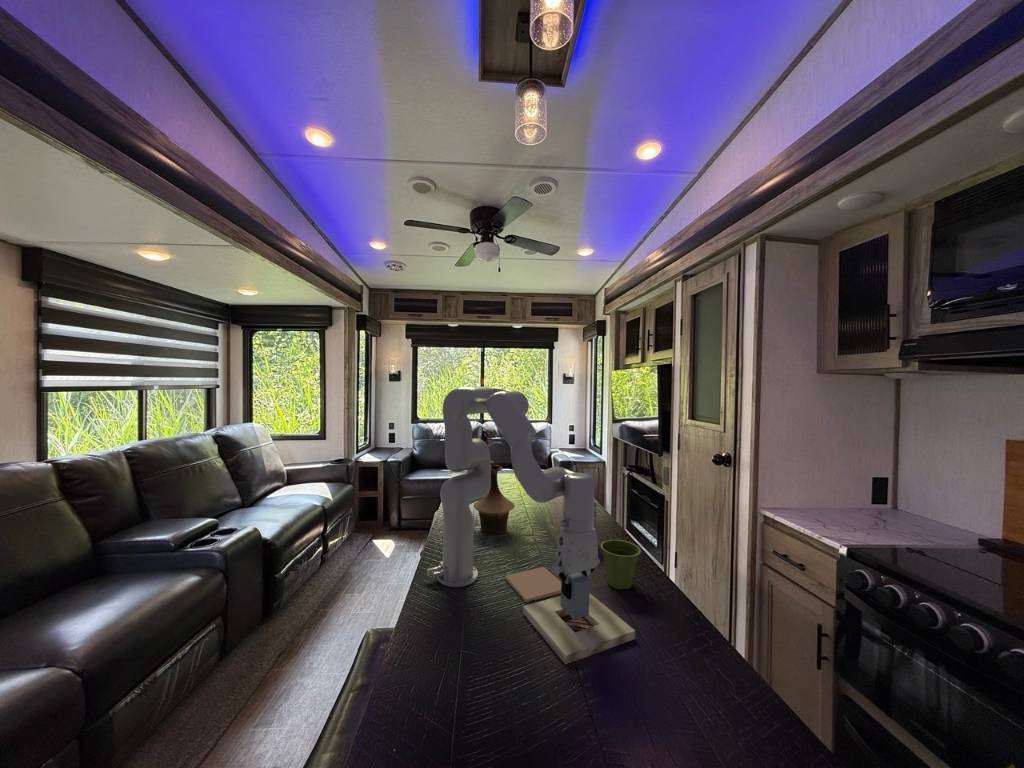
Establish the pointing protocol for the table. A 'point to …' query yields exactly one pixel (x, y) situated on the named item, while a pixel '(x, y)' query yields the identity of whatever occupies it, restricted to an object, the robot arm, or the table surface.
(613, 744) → the table surface
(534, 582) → the tile
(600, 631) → the holder
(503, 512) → the brown vase
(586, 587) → the block
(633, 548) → the plant pot
